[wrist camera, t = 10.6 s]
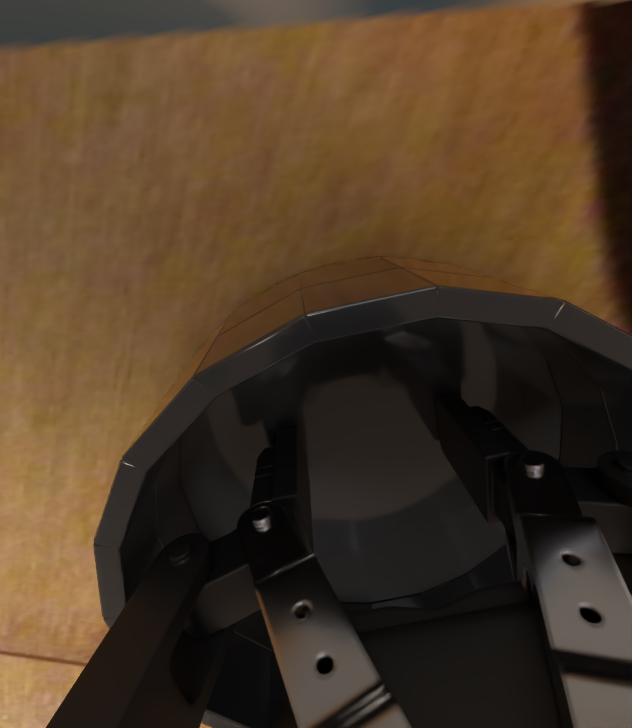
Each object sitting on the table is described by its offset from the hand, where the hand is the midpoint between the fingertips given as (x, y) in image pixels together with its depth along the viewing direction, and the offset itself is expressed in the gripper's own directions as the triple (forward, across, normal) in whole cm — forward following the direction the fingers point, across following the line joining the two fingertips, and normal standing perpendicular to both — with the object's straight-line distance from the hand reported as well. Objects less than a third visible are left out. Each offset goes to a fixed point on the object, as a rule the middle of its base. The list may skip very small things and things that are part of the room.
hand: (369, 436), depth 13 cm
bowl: (+1, 0, +2) cm, 2 cm away
